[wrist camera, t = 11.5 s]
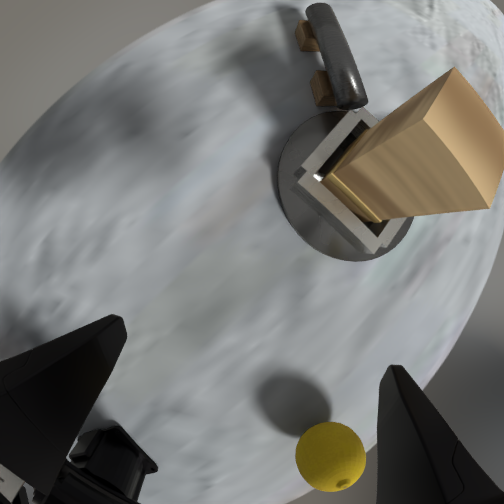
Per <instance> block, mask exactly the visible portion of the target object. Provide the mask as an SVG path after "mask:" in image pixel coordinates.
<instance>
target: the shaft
mask: <svg viewBox="0 0 504 504" xmlns="http://www.w3.org/2000/svg"><path fill="white" fill-rule="evenodd" d="M305 13H306V16H307V18H308V21H305V20H299V22H298V25H297V28H296V31H295V35H296V38H297V41H298V44H299V47H300V50H301V51H319V52H320V53H321V56H322V59H323V62H324V65H325V68H326V71H322V70H316V72H315V74H314V76H313V78H312V79H311V81H310V84H311V87H312V91H313V95H314V99H315V102H316V106H337V107H338V108H339V109H342V110H353V109H358V108H361V107H363V106H365V105H366V104H367V103H368V98H367V95H366V92H365V89H364V86H363V83H362V80H361V77H360V74H359V71H358V69H357V66H356V63H355V61H354V58H353V55H352V53H351V50H350V48H349V45H348V43H347V41H346V38H345V36H344V34H343V31H342V29H341V27H340V25H339V22H338V20H337V18H336V16H335V14H334V12H333V10H332V8H331V6H330V5H328V4H326V3H315V4H312V5H310V6H309V7H307V9H306V11H305Z"/></svg>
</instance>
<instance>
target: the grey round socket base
mask: <svg viewBox="0 0 504 504" xmlns="http://www.w3.org/2000/svg"><path fill="white" fill-rule="evenodd" d="M378 122H379V121H378V120H377V119H376V118H375V117H374V116H373V115H372V114H370V113H369V112H368V111H367V110H366V109H365V108H364V107H362V108H361V109H360V110H359V111H358V112H357V113H354V112H353V111H352V110H350V111H349V112H348V111H331V112H326V113H322V114H319V115H316V116H314V117H312V118H310V119H309V120H307V121H306V122H304V123H303V124H302V125H301V126H300V127H298V128H297V129H296V131H295V132H294V133H293V134H292V135H291V137H290V139H289V140H288V142H287V144H286V145H285V147H284V149H283V152H282V154H281V157H280V161H279V165H278V174H277V183H278V192H279V198H280V201H281V204H282V208H283V210H284V212H285V215H286V217H287V219H288V220H289V222H290V224H291V225H292V227H293V228H294V229H295V231H296V232H297V233H298V235H299V236H300V237H301V238H302V239H303V240H304V241H305V242H306V243H308V244H309V245H310V246H311V247H313V248H314V249H316V250H317V251H319V252H321V253H322V254H325V255H327V256H330V257H332V258H336V259H340V260H345V261H354V262H356V261H367V260H372V259H375V258H378V257H380V256H382V255H384V254H386V253H388V252H389V251H390V250H392V249H393V248H395V247H396V246H397V245H398V244H399V243H400V242H401V240H402V239H403V238H404V236H405V235H406V233H407V232H408V230H409V228H410V226H411V224H412V221H413V219H414V216H413V217H404V218H395V219H386V220H382V221H381V222H378V223H373V222H372V221H369V222H361V221H360V220H359V219H358V218H357V217H356V216H355V215H354V214H353V213H352V212H351V211H350V210H349V209H348V208H347V207H346V206H345V205H344V204H343V203H342V202H341V201H340V200H339V199H338V198H336V197H335V196H334V195H333V194H332V193H331V192H330V191H329V190H328V189H327V188H326V187H325V186H324V185H322V184H321V183H320V181H321V179H322V178H323V177H324V176H325V175H326V173H327V172H328V171H329V170H330V168H331V167H332V166H333V165H334V164H335V162H336V161H337V160H338V159H339V157H340V156H341V155H342V154H343V153H344V151H345V150H346V149H347V148H348V146H349V145H350V144H351V143H352V142H353V141H355V140H356V139H357V138H358V137H359V136H360V134H361V133H362V132H364V131H365V130H366V129H368V130H369V129H370V128H372V127H373V126H374V125H376V124H377V123H378Z"/></svg>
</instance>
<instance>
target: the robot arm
mask: <svg viewBox="0 0 504 504" xmlns="http://www.w3.org/2000/svg"><path fill="white" fill-rule="evenodd" d="M126 340H127V331H126V328H125V324H124V321H123V318H122V317H121V316H117V315H114V314H111V315H108V316H106V317H104V318H101V319H99V320H97V321H95V322H92V323H90V324H88V325H86V326H83V327H81V328H79V329H77V330H74V331H72V332H70V333H67V334H65V335H63V336H61V337H58V338H56V339H54V340H52V341H49V342H47V343H45V344H42V345H40V346H38V347H36V348H33V350H32V349H31V350H29V351H27V352H24V353H22V354H19V355H17V356H15V357H12V358H9V359H6V360H4V361H1V362H0V504H29V502H28V498H27V493H26V489H25V487H24V486H23V485H24V483H25V482H26V483H28V484H29V485H31V486H32V487H33V488H34V493H33V495H34V497H33V500H32V502H34V503H35V504H140V503H138V502H137V500H138V497H139V494H140V491H141V487H142V484H143V481H144V478H145V475H146V474H151V473H155V472H157V471H158V466H157V465H156V464H155V463H154V462H153V461H152V460H151V459H150V458H149V457H148V456H147V455H146V454H145V453H144V452H143V451H142V450H141V449H140V448H139V447H138V446H137V445H136V444H135V443H134V442H133V440H132V439H131V438H130V437H129V436H128V435H127V434H126V433H125V431H124V430H123V429H122V428H121V427H119V426H113V427H110V428H107V429H103V430H101V429H97V430H94V431H90V432H87V433H84V434H83V435H82V436H80V437H79V438H78V443H77V444H76V445H75V447H74V448H73V450H72V451H71V453H70V454H69V458H70V459H71V462H69V461H68V459H66V456H67V455H68V453H69V451H70V449H71V447H72V445H73V443H74V441H75V439H76V437H77V435H78V433H79V431H80V429H81V427H82V425H83V424H84V422H85V420H86V418H87V416H88V414H89V412H90V410H91V409H92V407H93V405H94V403H95V401H96V400H97V398H98V396H99V394H100V392H101V391H102V389H103V387H104V385H105V384H106V382H107V380H108V378H109V376H110V375H111V373H112V371H113V369H114V366H115V364H116V362H117V360H118V357H119V355H120V353H121V351H122V349H123V346H124V344H125V342H126ZM117 430H118V431H119V432H118V431H117ZM377 451H378V452H377V453H378V469H377V470H378V471H377V472H378V473H377V500H376V501H377V502H376V504H504V492H503V491H502V490H501V489H499V487H498V486H497V485H496V484H495V483H494V482H493V481H492V480H491V478H490V477H489V476H488V475H487V474H486V473H485V472H484V470H483V469H482V468H481V467H480V466H479V465H478V464H477V462H476V461H475V460H474V459H473V458H472V456H471V455H470V454H469V452H468V451H467V450H466V448H465V447H464V446H463V444H462V443H461V441H460V440H458V438H457V436H456V435H455V433H454V432H453V431H452V429H451V428H450V427H449V425H448V424H447V423H446V421H445V420H444V419H443V417H442V416H441V415H440V413H439V412H438V411H437V409H436V408H435V407H434V405H433V404H432V403H431V402H430V400H429V399H428V398H427V396H426V395H425V394H424V392H423V391H422V390H421V389H420V387H419V386H418V385H417V384H416V382H415V381H414V380H413V378H412V377H411V376H410V375H409V373H408V372H407V371H406V370H405V368H404V367H403V366H402V365H390V366H389V367H388V368H387V370H386V372H385V374H384V376H383V378H382V379H381V382H380V386H379V404H378V420H377Z"/></svg>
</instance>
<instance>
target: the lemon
mask: <svg viewBox="0 0 504 504" xmlns="http://www.w3.org/2000/svg"><path fill="white" fill-rule="evenodd" d="M295 457H296V464H297V466H298V469H299V472H300V474H301V475H302V477H303V478H304V479H305V480H306V481H307V482H308V483H309V484H310V485H311V486H312V487H314V488H316V489H318V490H321V491H327V492H333V491H339V490H343V489H346V488H348V487H349V486H351V485H352V484H353V483H355V482H356V481H357V480H358V479H359V477H360V476H361V474H362V473H363V471H364V468H365V463H366V454H365V450H364V447H363V444H362V442H361V440H360V438H359V437H358V435H357V434H356V433H355V432H354V431H353V430H352V429H351V428H349V427H347V426H345V425H343V424H341V423H336V422H324V423H319V424H317V425H315V426H313V427H311V428H309V429H308V430H307V431H306V432H305V433H304V434H303V435H302V436H301V438H300V439H299V441H298V444H297V447H296V455H295Z"/></svg>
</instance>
